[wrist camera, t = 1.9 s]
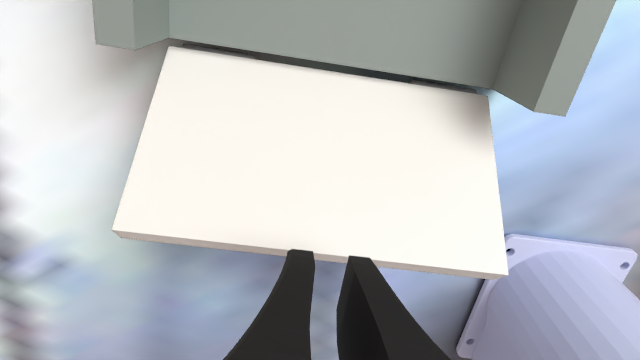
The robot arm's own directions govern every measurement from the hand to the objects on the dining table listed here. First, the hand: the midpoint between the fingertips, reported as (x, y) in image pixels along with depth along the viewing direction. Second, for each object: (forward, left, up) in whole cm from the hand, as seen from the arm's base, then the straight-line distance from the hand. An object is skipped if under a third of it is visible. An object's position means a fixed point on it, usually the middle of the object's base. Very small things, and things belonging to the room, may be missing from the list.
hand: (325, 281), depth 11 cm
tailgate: (+1, 0, -6) cm, 6 cm away
